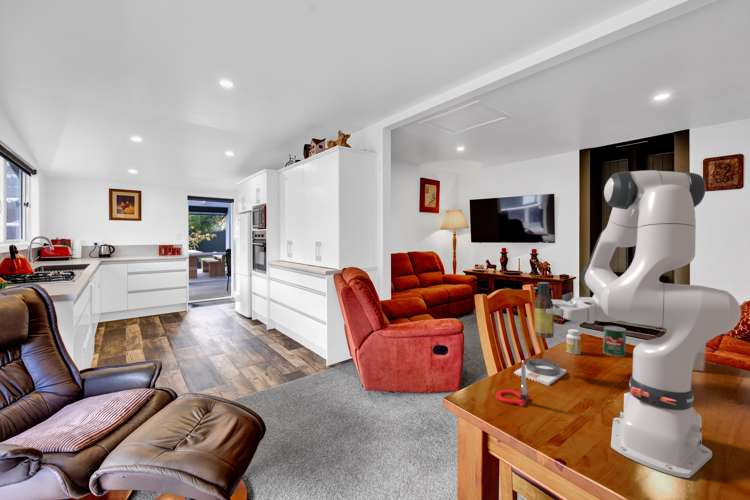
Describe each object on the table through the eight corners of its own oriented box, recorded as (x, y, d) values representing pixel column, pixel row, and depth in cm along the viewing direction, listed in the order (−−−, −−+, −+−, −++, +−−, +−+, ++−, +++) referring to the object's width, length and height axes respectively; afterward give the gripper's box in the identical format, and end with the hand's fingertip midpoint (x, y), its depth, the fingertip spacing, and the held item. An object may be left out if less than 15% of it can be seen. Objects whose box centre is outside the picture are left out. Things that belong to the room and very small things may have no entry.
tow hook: (491, 400, 103) (522, 408, 97) (490, 359, 103) (521, 365, 97) (501, 390, 109) (531, 398, 103) (500, 352, 109) (529, 357, 103)
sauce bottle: (557, 338, 118) (557, 283, 118) (539, 338, 118) (540, 283, 118) (548, 334, 125) (548, 281, 125) (531, 334, 125) (531, 281, 125)
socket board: (548, 385, 112) (548, 376, 112) (514, 374, 121) (514, 366, 121) (566, 372, 122) (566, 364, 122) (533, 363, 131) (533, 355, 131)
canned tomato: (608, 356, 139) (609, 330, 139) (599, 349, 147) (599, 325, 147) (629, 357, 138) (630, 331, 138) (618, 350, 146) (619, 326, 145)
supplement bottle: (577, 350, 146) (577, 328, 146) (582, 354, 141) (583, 332, 140) (564, 349, 147) (564, 328, 147) (569, 354, 142) (569, 331, 141)
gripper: (566, 295, 131) (530, 295, 132) (597, 306, 111) (554, 305, 112) (565, 311, 131) (530, 310, 132) (596, 324, 111) (554, 324, 112)
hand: (541, 308), depth 122 cm, fingers closed on sauce bottle, 6 cm apart
